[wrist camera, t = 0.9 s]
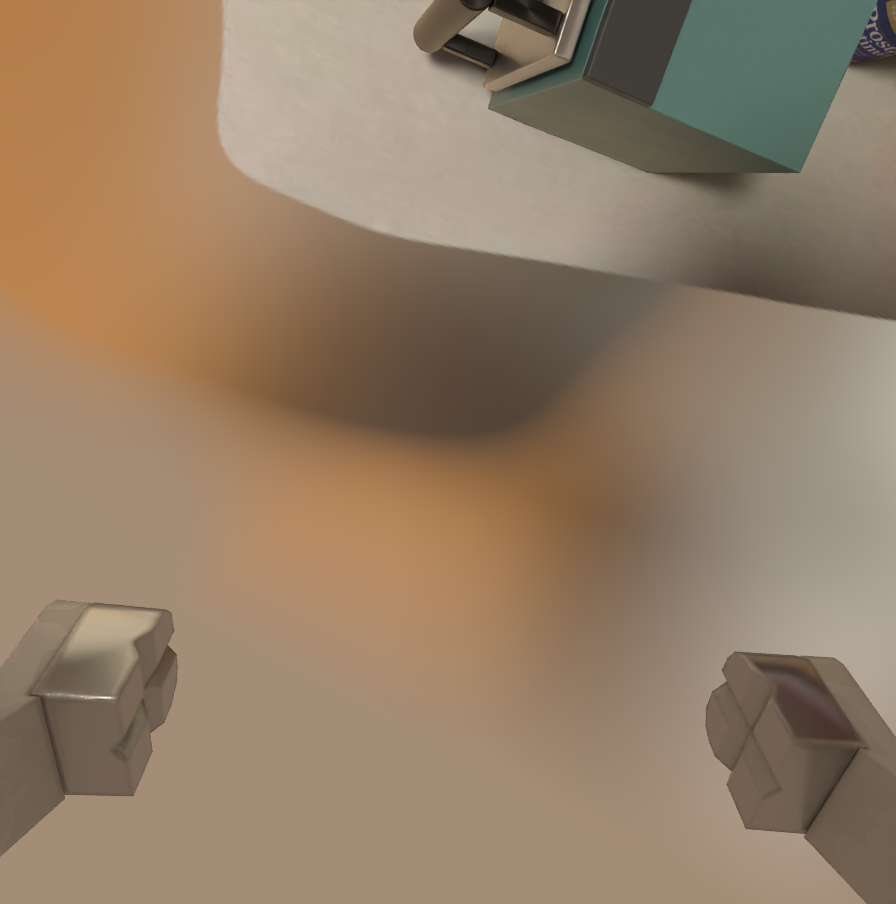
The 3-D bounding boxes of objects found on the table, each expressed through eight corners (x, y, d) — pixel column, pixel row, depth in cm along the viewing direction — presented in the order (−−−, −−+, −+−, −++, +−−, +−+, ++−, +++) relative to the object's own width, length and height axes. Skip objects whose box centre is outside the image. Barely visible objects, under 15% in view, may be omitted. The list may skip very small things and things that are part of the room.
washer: (487, 109, 38) (593, 74, 25) (554, -114, 35) (720, -296, 21) (647, 172, 42) (819, 173, 28) (723, -25, 38) (961, -134, 25)
